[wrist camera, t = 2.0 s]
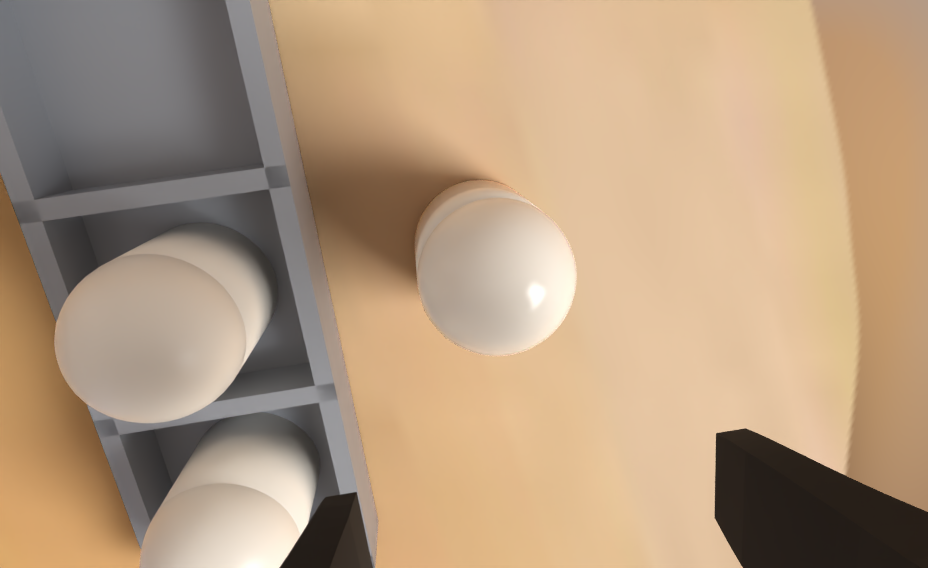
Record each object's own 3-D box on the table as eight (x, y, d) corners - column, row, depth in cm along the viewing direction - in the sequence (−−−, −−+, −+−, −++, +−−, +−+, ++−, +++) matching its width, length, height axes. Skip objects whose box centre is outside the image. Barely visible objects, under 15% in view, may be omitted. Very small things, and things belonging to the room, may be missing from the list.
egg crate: (188, 553, 22) (100, 736, 16) (-21, -55, 16) (-313, -166, 9) (378, 520, 23) (367, 686, 16) (250, -86, 16) (147, -213, 10)
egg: (424, 313, 20) (433, 397, 14) (405, 189, 19) (405, 227, 13) (546, 294, 21) (603, 369, 15) (535, 171, 19) (592, 199, 13)
